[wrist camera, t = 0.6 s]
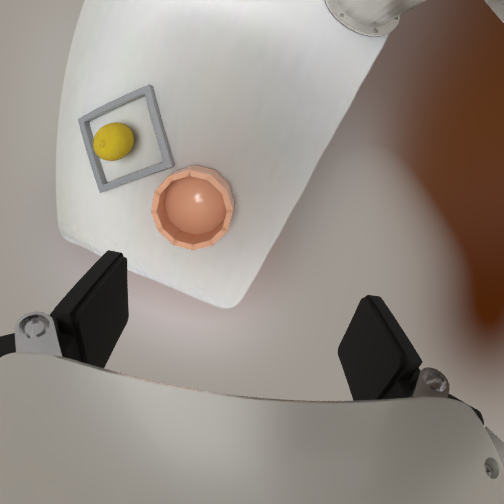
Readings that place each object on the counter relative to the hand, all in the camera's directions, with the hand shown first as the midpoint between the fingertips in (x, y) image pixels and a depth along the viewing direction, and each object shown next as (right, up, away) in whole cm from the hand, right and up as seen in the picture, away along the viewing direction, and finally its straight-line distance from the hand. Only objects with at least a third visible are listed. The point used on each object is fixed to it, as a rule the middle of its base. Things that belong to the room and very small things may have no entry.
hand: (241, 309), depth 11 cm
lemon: (-19, +19, +27) cm, 38 cm away
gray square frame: (-19, +19, +27) cm, 38 cm away
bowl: (-8, +10, +32) cm, 34 cm away
